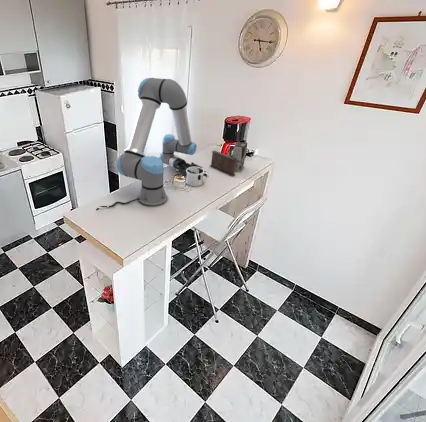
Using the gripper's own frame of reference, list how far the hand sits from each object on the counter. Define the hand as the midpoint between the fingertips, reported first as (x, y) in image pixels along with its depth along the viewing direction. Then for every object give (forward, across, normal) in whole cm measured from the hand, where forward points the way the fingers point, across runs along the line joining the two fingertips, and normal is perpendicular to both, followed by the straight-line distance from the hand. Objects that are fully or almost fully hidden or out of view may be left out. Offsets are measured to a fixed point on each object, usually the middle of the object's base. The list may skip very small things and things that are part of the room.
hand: (203, 176), depth 167 cm
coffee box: (-4, -33, -6) cm, 34 cm away
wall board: (-7, -24, -6) cm, 25 cm away
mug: (-5, +1, -6) cm, 8 cm away
